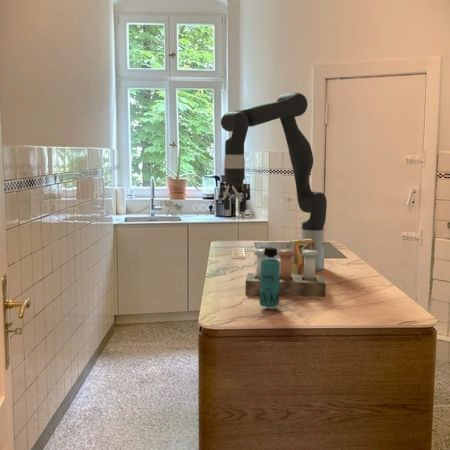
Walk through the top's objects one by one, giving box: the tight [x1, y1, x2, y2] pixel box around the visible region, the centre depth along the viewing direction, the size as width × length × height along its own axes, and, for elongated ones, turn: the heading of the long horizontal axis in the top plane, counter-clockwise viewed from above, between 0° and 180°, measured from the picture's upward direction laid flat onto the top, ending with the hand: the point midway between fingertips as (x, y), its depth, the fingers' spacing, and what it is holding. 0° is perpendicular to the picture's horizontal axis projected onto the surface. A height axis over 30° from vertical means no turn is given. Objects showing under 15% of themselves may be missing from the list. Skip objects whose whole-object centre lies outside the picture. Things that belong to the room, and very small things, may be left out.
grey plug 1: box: [254, 248, 268, 279], centre depth 193 cm, size 6×6×10 cm
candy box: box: [289, 238, 314, 275], centre depth 214 cm, size 9×4×15 cm, turn 110°
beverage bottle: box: [258, 247, 280, 308], centre depth 171 cm, size 6×7×20 cm
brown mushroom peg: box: [277, 248, 294, 280], centre depth 192 cm, size 6×6×10 cm
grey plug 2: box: [302, 250, 318, 281], centre depth 191 cm, size 6×6×10 cm
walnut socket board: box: [244, 272, 327, 298], centre depth 193 cm, size 28×12×5 cm, turn 84°
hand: (234, 210), depth 199 cm, fingers open, 8 cm apart
